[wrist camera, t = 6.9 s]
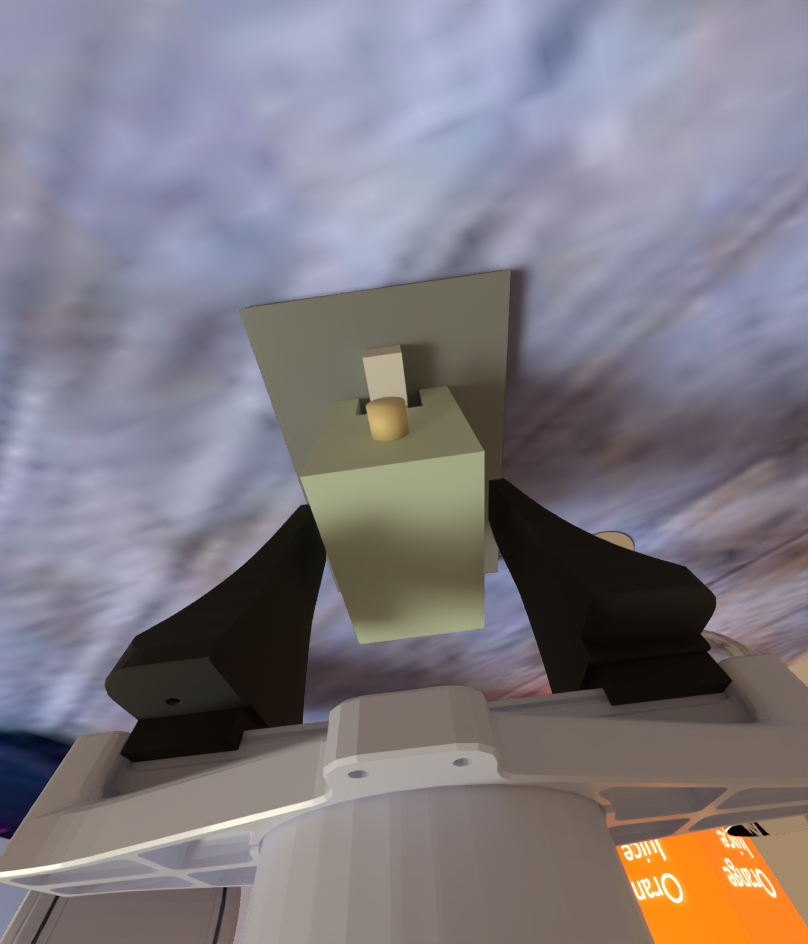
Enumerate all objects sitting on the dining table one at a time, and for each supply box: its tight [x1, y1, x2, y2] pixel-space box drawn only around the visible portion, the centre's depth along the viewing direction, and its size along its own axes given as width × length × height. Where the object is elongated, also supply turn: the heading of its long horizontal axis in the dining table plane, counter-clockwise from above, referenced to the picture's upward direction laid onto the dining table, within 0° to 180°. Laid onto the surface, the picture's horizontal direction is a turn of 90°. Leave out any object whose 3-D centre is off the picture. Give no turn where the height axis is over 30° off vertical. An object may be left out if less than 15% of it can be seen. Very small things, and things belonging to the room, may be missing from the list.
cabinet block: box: [300, 386, 484, 644], centre depth 13 cm, size 9×5×6 cm, turn 7°
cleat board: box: [239, 270, 511, 592], centre depth 16 cm, size 16×10×2 cm, turn 7°
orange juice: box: [616, 828, 808, 944], centre depth 24 cm, size 8×9×20 cm
